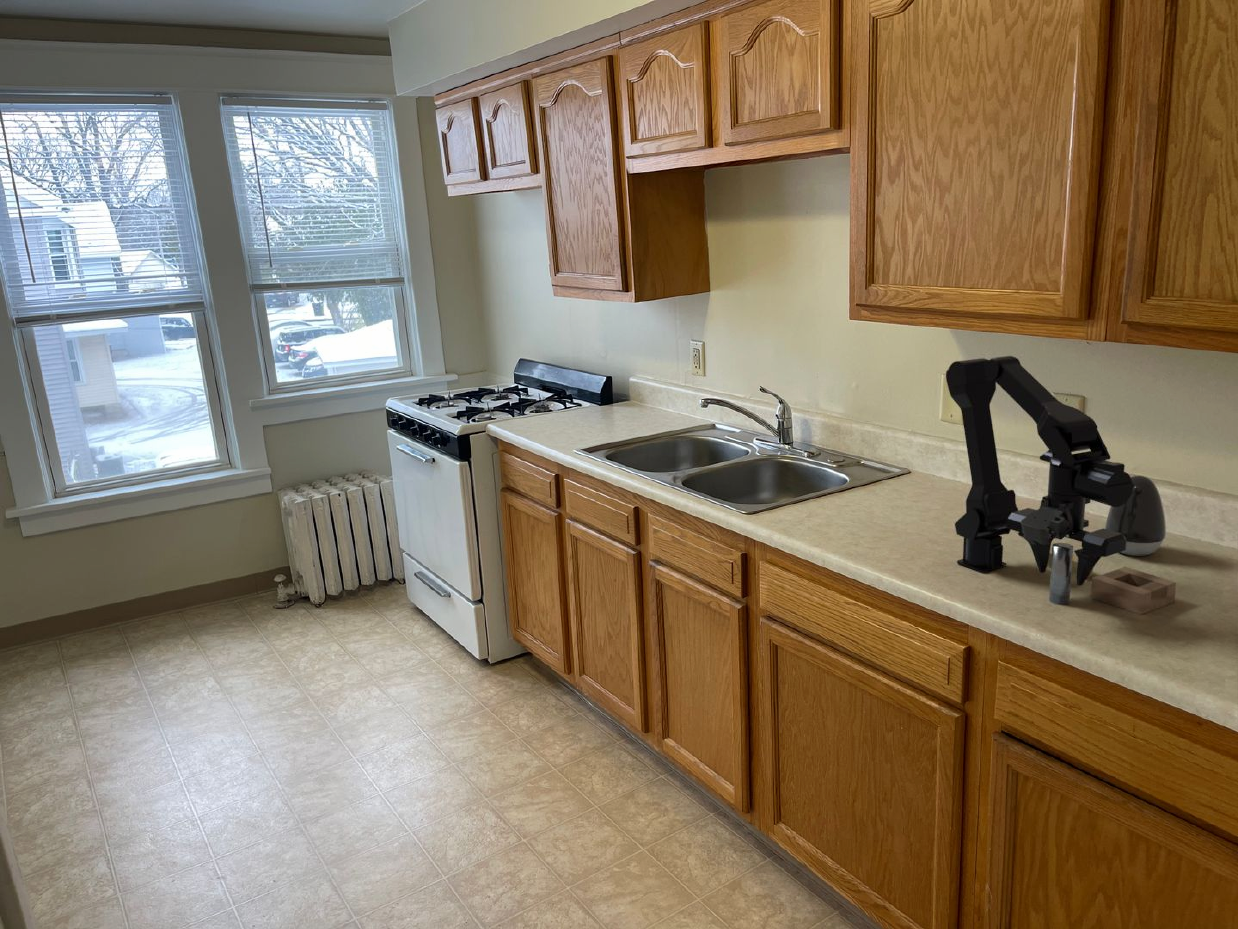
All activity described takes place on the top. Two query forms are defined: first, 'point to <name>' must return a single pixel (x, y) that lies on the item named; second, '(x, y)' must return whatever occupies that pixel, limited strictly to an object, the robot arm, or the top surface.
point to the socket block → (1133, 590)
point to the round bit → (1061, 573)
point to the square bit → (1074, 564)
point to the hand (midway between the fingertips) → (1060, 578)
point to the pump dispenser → (1140, 518)
